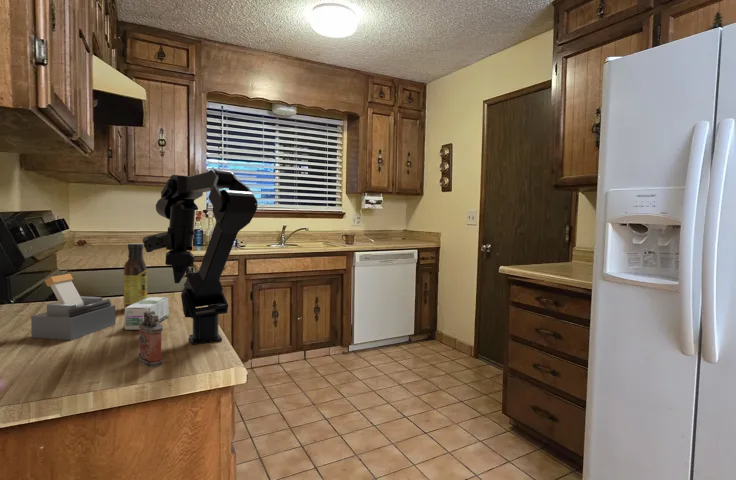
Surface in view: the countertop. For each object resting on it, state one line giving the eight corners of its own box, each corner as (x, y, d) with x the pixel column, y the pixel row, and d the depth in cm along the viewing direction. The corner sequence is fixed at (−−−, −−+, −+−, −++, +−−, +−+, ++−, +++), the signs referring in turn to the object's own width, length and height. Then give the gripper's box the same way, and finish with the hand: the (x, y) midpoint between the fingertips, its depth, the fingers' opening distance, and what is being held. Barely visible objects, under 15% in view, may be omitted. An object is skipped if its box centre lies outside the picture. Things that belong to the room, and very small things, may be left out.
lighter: (135, 357, 84) (135, 309, 83) (152, 353, 86) (153, 307, 86) (147, 368, 78) (147, 317, 78) (166, 364, 81) (166, 314, 80)
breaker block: (115, 324, 107) (115, 296, 107) (71, 340, 93) (71, 308, 93) (80, 321, 108) (79, 294, 108) (31, 337, 94) (31, 305, 94)
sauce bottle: (146, 310, 123) (146, 244, 122) (122, 311, 120) (122, 244, 119) (147, 305, 129) (148, 242, 128) (124, 306, 126) (124, 242, 125)
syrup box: (148, 316, 116) (124, 331, 102) (147, 296, 116) (123, 308, 101) (169, 316, 117) (148, 331, 102) (168, 295, 116) (147, 307, 102)
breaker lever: (87, 305, 103) (70, 273, 103) (69, 310, 97) (50, 276, 97) (81, 309, 103) (64, 277, 103) (63, 314, 98) (44, 280, 98)
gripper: (148, 215, 109) (144, 271, 112) (143, 229, 93) (139, 294, 95) (193, 219, 114) (188, 273, 117) (196, 232, 98) (190, 294, 100)
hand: (176, 282), depth 107 cm, fingers closed
